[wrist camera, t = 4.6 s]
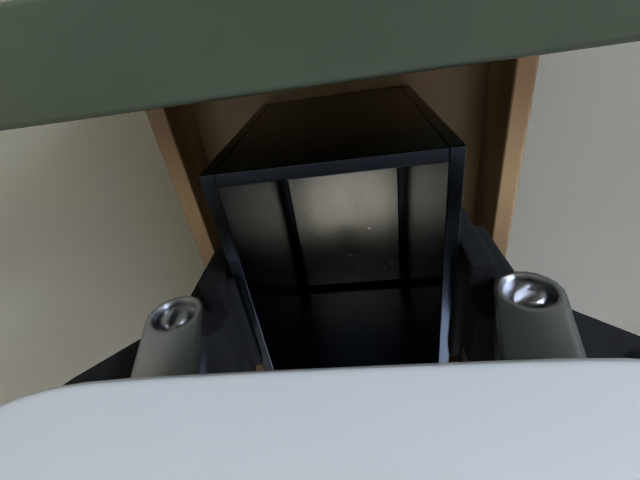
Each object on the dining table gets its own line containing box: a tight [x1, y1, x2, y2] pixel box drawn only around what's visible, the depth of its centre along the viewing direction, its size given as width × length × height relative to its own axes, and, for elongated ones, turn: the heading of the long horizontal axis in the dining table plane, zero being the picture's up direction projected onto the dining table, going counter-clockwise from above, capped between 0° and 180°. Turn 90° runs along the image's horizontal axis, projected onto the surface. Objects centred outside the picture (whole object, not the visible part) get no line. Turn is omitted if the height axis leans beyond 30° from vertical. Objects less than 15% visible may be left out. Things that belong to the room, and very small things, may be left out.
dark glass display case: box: [199, 85, 467, 371], centre depth 11 cm, size 8×5×6 cm, turn 8°
